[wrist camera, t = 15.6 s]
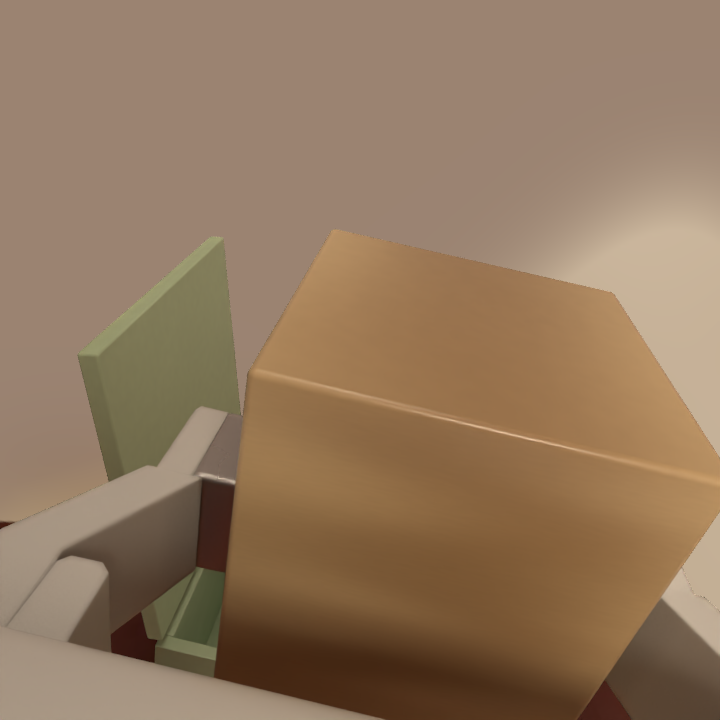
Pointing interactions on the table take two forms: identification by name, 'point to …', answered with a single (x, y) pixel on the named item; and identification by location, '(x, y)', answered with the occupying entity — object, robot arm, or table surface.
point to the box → (194, 626)
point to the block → (453, 491)
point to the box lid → (163, 377)
